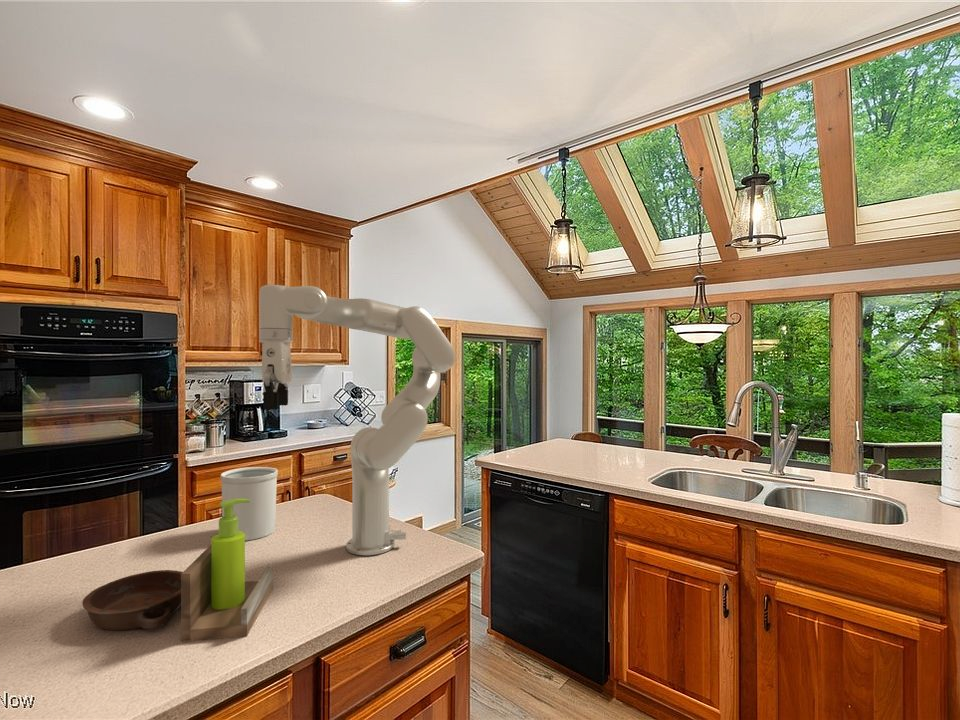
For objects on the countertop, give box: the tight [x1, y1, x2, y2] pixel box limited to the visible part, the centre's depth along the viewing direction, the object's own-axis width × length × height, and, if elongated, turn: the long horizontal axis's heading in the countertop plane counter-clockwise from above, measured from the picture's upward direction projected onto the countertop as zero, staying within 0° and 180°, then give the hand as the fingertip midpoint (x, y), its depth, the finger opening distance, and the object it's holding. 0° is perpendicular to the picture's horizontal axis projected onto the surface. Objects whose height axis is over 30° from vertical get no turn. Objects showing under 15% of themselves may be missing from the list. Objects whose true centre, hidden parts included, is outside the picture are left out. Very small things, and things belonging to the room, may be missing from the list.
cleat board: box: [180, 544, 274, 642], centre depth 96 cm, size 11×18×12 cm, turn 9°
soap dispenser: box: [210, 498, 251, 610], centre depth 97 cm, size 6×7×20 cm
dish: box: [81, 569, 184, 631], centre depth 96 cm, size 18×22×5 cm
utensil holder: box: [220, 466, 279, 542], centre depth 140 cm, size 15×15×18 cm
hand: (276, 407), depth 118 cm, fingers open, 9 cm apart
